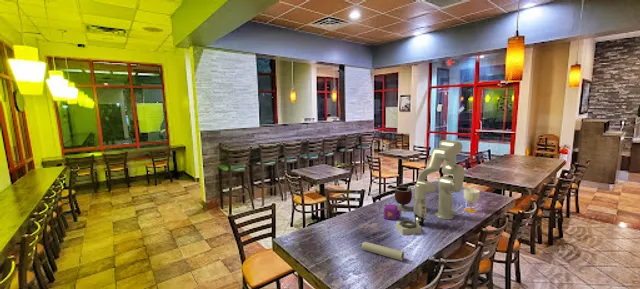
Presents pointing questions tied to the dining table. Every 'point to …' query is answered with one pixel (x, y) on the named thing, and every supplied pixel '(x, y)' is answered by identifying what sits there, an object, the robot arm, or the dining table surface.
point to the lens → (418, 219)
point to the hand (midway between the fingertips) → (419, 223)
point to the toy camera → (391, 212)
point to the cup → (471, 198)
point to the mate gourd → (403, 197)
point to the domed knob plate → (408, 227)
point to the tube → (383, 250)
